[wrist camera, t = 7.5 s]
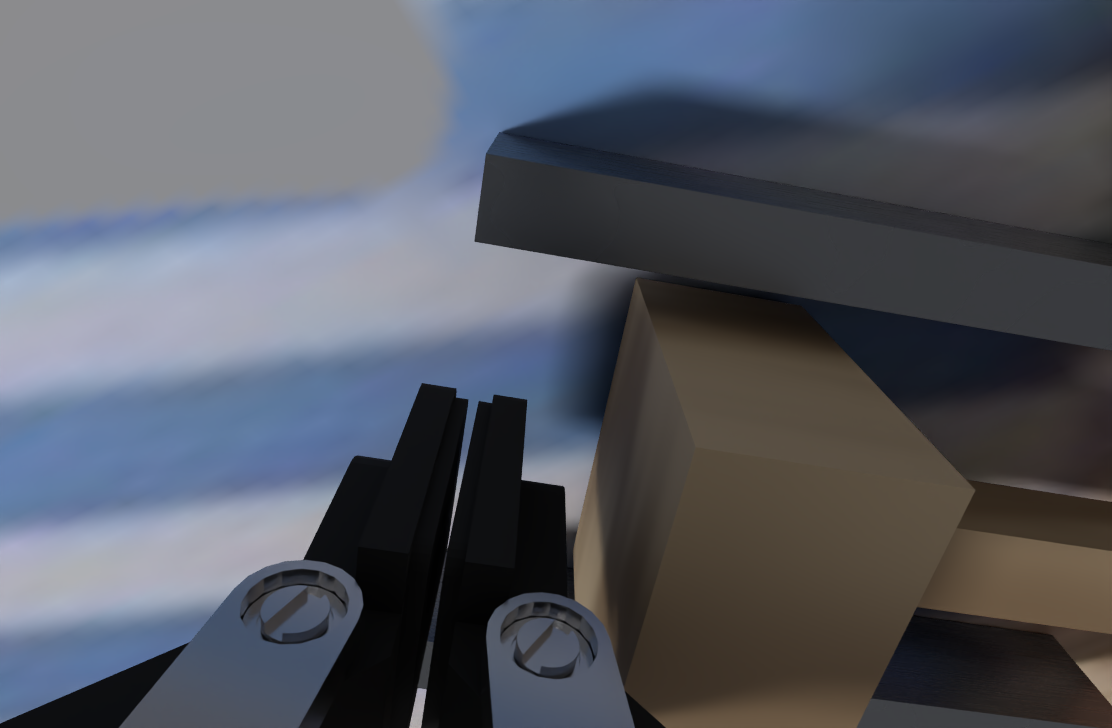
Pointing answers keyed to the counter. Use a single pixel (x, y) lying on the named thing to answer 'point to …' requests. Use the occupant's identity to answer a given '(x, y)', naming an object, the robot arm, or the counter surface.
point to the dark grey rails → (849, 279)
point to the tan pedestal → (794, 522)
